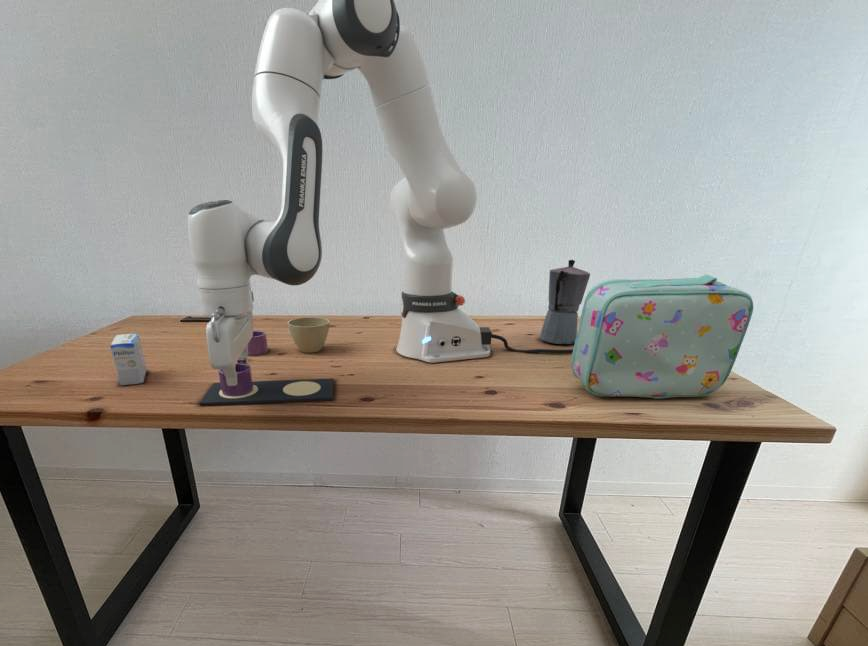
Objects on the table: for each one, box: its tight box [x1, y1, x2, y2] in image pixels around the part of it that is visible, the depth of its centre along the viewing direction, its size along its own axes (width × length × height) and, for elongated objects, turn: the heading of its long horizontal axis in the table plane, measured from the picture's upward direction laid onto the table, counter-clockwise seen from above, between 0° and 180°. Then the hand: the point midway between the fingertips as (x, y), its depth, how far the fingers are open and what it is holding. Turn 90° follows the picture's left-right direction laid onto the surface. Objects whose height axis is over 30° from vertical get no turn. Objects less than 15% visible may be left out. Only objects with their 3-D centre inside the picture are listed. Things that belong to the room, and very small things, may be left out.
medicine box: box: [109, 333, 147, 386], centre depth 94 cm, size 8×4×9 cm, turn 21°
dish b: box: [217, 363, 254, 396], centre depth 86 cm, size 6×6×4 cm
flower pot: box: [287, 316, 331, 354], centre depth 111 cm, size 10×10×7 cm
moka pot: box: [539, 259, 591, 345], centre depth 113 cm, size 10×15×20 cm, turn 148°
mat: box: [199, 377, 335, 407], centre depth 88 cm, size 24×10×1 cm, turn 94°
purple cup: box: [248, 330, 269, 356], centre depth 111 cm, size 6×6×4 cm
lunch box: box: [570, 274, 754, 400], centre depth 82 cm, size 27×10×21 cm, turn 90°
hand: (238, 375), depth 86 cm, fingers open, 8 cm apart
